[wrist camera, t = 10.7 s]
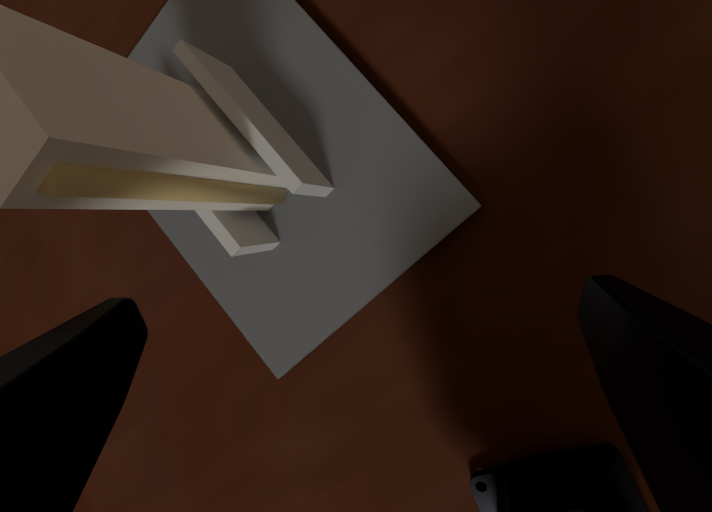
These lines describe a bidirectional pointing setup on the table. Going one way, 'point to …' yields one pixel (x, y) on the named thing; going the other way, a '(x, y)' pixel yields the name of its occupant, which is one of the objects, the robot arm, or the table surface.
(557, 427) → the table surface
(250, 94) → the grey base plate
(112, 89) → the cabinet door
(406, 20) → the table surface
